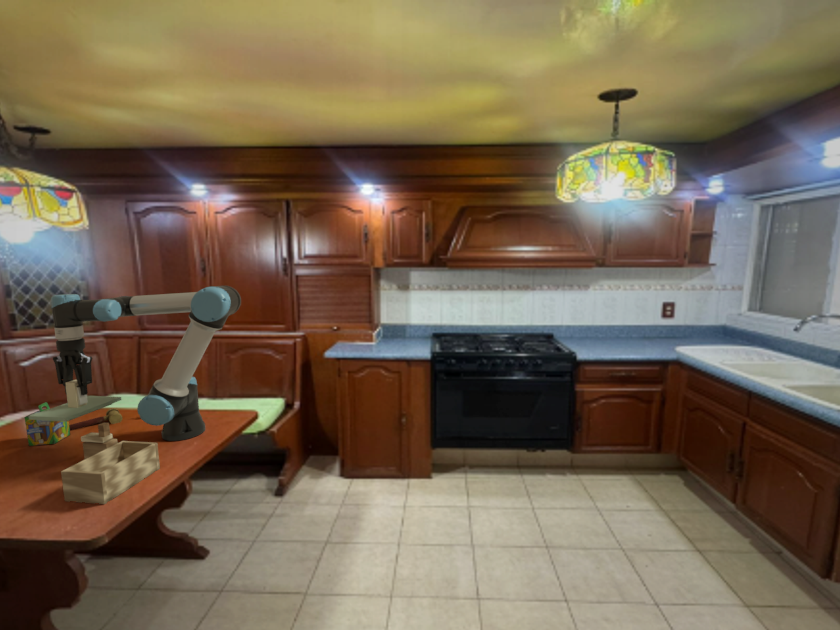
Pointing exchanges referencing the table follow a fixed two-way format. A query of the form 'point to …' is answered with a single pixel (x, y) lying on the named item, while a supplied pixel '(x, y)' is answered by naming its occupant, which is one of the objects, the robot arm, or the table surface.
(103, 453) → the tan open box
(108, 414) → the gavel
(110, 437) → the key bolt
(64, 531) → the table surface
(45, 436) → the chalk box
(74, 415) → the lid
